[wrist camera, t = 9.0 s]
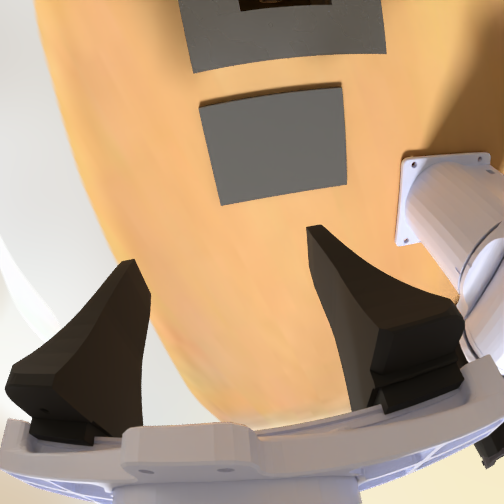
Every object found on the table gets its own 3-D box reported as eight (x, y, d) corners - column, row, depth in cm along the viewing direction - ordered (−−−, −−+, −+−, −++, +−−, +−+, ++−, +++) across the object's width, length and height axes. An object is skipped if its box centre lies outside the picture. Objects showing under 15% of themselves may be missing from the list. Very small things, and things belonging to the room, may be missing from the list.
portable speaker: (420, 354, 38) (469, 478, 23) (437, 309, 33) (508, 454, 17) (467, 338, 38) (520, 448, 23) (488, 293, 33) (561, 416, 17)
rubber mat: (339, 86, 18) (341, 87, 18) (345, 182, 22) (346, 184, 22) (198, 107, 18) (198, 108, 18) (221, 203, 23) (221, 205, 22)
